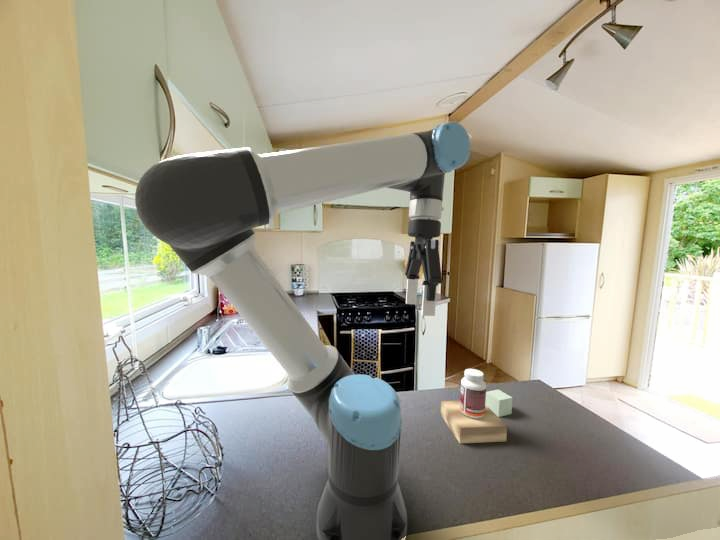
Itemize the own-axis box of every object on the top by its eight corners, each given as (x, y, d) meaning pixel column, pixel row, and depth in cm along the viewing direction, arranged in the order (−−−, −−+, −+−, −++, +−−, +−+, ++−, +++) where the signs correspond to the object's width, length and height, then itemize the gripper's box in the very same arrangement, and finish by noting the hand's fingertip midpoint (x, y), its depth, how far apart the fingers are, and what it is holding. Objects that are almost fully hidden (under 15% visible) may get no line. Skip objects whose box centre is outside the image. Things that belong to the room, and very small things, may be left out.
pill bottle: (489, 415, 73) (492, 374, 73) (475, 422, 70) (477, 379, 69) (468, 403, 79) (471, 365, 78) (454, 410, 75) (456, 370, 74)
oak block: (506, 441, 69) (507, 425, 69) (459, 443, 68) (460, 427, 68) (480, 413, 81) (481, 399, 81) (440, 414, 80) (441, 401, 80)
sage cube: (511, 414, 81) (512, 397, 81) (498, 417, 80) (499, 400, 79) (497, 405, 86) (498, 389, 86) (484, 407, 84) (485, 391, 84)
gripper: (464, 213, 54) (456, 322, 55) (423, 226, 79) (418, 300, 80) (426, 211, 53) (418, 321, 55) (397, 224, 78) (392, 299, 79)
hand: (418, 309), depth 67 cm, fingers open, 13 cm apart
